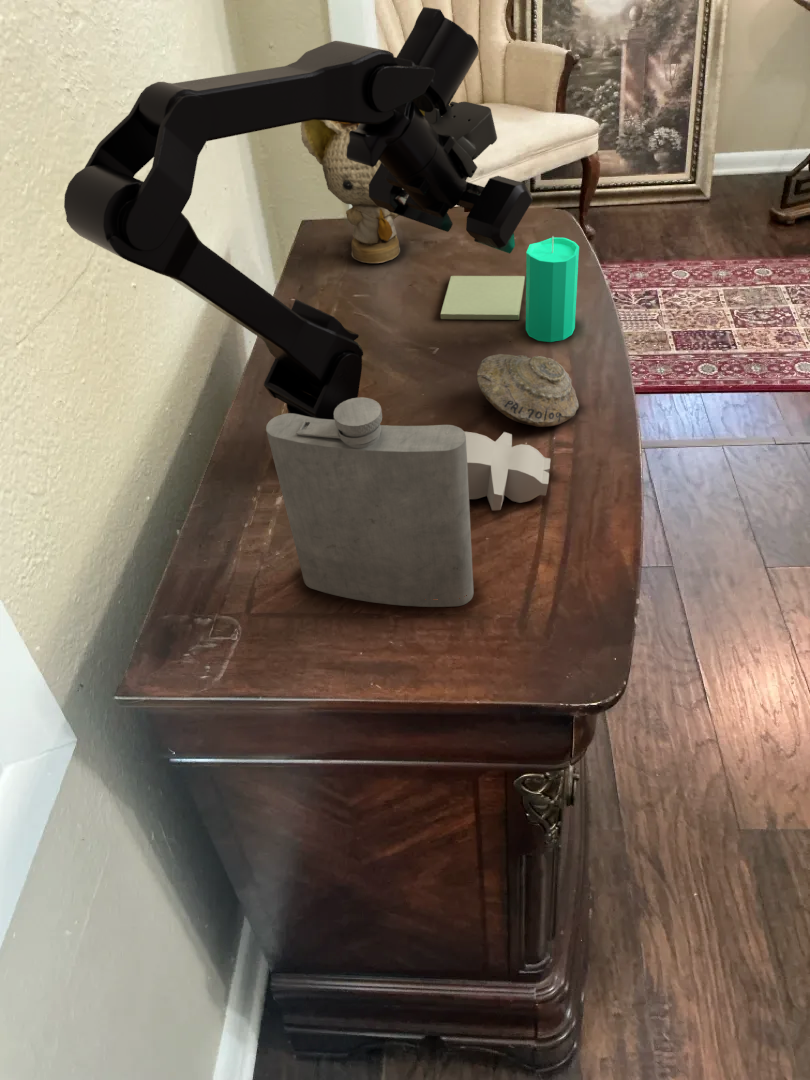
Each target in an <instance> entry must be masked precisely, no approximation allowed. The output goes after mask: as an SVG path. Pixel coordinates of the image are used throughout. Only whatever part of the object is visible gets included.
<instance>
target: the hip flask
mask: <svg viewBox="0 0 810 1080" xmlns="http://www.w3.org/2000/svg"><path fill="white" fill-rule="evenodd" d="M382 421H383V413H382V406H381V405H380V403H379V402H378V401H376V400H375V399H372V398H370V397H363V396H361V397H358V398H352V399H348V400H346V401H344V402H342V403H340V404H339V405H338V406H337V407H336V408H335V410H334V420H330V419H318V418H313V417H308V416H303V415H299V414H293V413H288V412H287V413H282V414H279V415H277V416H274V417H273V418H271V419H270V420H269V421H268V423H266V426H265V431H266V434H267V435H266V436H267V439H268V443H269V447H270V450H271V455H272V459H273V464H274V466H275V470H276V475H277V479H278V483H279V487H280V490H281V491H280V492H281V494H282V499H283V503H284V507H285V511H286V515H287V519H288V524H289V527H290V530H291V535H292V539H293V542H294V546H295V551H296V554H297V555H296V556H297V559H298V564H299V567H300V570H301V574H302V579H303V583H304V584H305V585H306V587H308V588H309V589H311V590H315V591H318V592H321V593H324V594H328V595H332V596H337V597H340V598H346V599H350V600H356V601H361V602H367V603H368V602H369V603H376V604H383V605H384V604H385V605H392V606H403V607H404V606H405V607H418V608H419V607H422V608H425V607H427V608H446V607H449V608H450V607H451V608H452V607H461V606H464V605H467V604H468V603H469V602H470V601H472V599H473V597H474V593H475V592H474V591H475V590H474V573H473V571H474V570H473V551H472V532H471V512H470V511H471V510H470V509H471V507H470V499H469V488H468V468H467V448H466V434H465V432H466V431H464V430H463V428H461V427H459V426H456V425H453V424H435V425H434V424H433V425H386V424H381V423H382ZM466 595H467V596H466ZM464 596H465V597H464ZM459 598H460V599H459ZM425 599H426V600H425ZM433 599H438V600H433Z"/></svg>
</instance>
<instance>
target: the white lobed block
mask: <svg viewBox="0 0 810 1080" xmlns="http://www.w3.org/2000/svg"><path fill="white" fill-rule="evenodd" d="M464 432H465V434H466V448H467V468H468V488H469V500H478V499H481V498H484V497H487V501H488V504H489V505H490V509H491V511H501V509H502V506H503V502H504V500H505V497H506V498H508V500H510V501H512V502H514V503H515V502H516V503H519V504H521V503H526V502H530V501H532V500H534V499H535V498H537V497H539V496H547V491H548V487H549V480H550V469H551V460H552V459H551V457H545V456H544V455H543V454H542V453H541V452H540V451H539V450H538V449H537V448H535V447H533V446H532V445H530V444H523V443H520V444H516V445H514V446H513V434H512V433H509V432H506V431H503V433H502V434H501V435H500V436H499V437H498V438H497V439H496V440H493V439H491V438H490V437H488V436H487V435H484V434H481V433H477V432H470V431H464Z"/></svg>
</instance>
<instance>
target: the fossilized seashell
mask: <svg viewBox="0 0 810 1080" xmlns="http://www.w3.org/2000/svg"><path fill="white" fill-rule="evenodd" d="M476 382H477V384H478V386H479V389H480V391H481V393H482V394H483V396H484V397H485V399H486V400H487V401H488V402H489V403H490V404H491V405H492V407H494V408H495V410H497V411H498V412H500V414H503V415H504V416H505V417H507V418H508V419H510V420H512V421H514V422H516V423H521V424H524V425H528V426H534V427H538V428H539V427H540V428H541V427H542V428H545V427H555V426H559V425H562V424H563V423H565V422H567V421H569V420H571V419H572V418H573V417H574V416H575V415H576V413H577V410H579V407H580V405H579V401H578V398H577V394H576V390H575V388H574V387H573V385H572V383H573V381H572V378H571V377H570V374H569V373H568V372H567V371H566V370H565V368H564V366H562V365H561V364H560V363H559V362H558V361H556V359H555V360H554V359H553V358H551V357H545V356H543V355H540V356H539V355H535V356H532V357H528V356H527V355H525V354H524V355H520V354H518V355H513V354H504V353H497V354H493V355H489V356H487V357H484V359H482V361H481V362H480V364H479V366H478V369H477V372H476Z"/></svg>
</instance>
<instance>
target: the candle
mask: <svg viewBox="0 0 810 1080" xmlns="http://www.w3.org/2000/svg"><path fill="white" fill-rule="evenodd" d="M528 245H529V246H528V247H527V250H526V252H525V256H526V257H525V258H526V259H525V270H526V271H525V331H526V333H527V335H528V337H530V338H532V339H534V340H536V341H538V342H545V343H546V342H547V343H554V342H560V341H564V340H566V339H568V338H569V337H571V336H572V335H573V334H574V331H575V330H576V314H577V295H578V277H579V275H578V274H579V256H580V246H579V245H578V243H576V242H575V241H573V240H571V239H569V238H567V237H558V236H557V237H555V235H552V237H550V238H547V239H543V240H541V241H538V242H534V243H530V244H528Z"/></svg>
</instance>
